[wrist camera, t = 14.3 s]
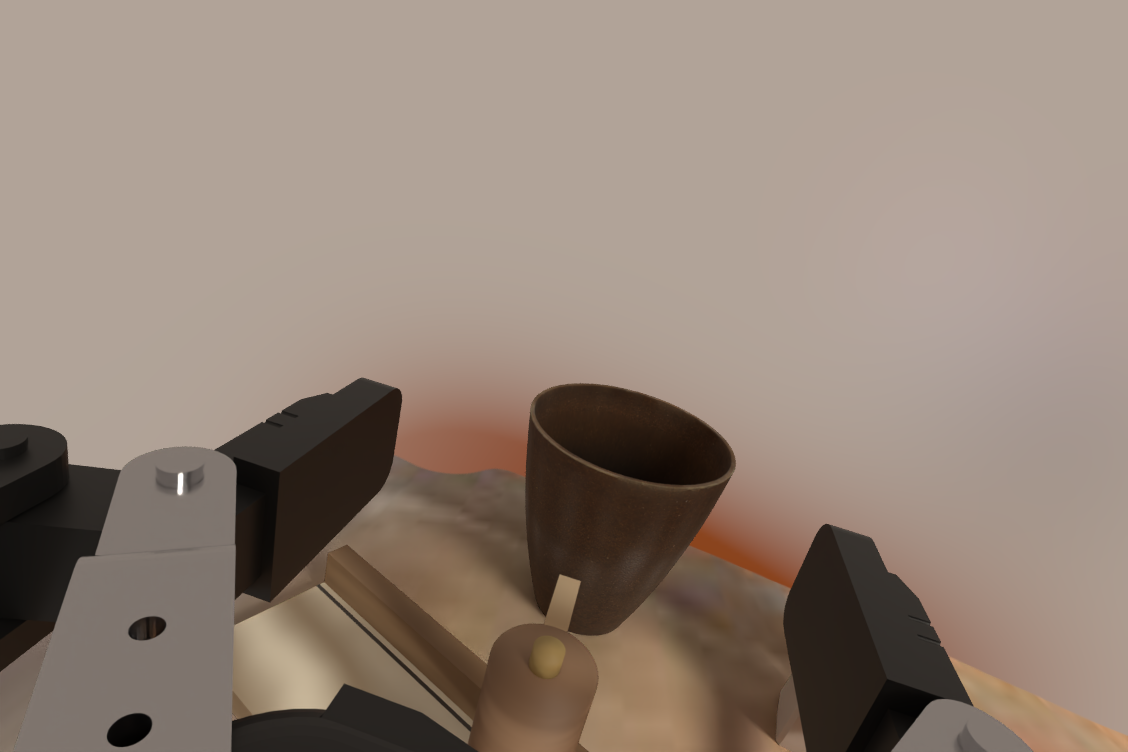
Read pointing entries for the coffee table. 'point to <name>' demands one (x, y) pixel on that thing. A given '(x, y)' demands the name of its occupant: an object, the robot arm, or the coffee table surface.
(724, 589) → the coffee table surface
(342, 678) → the board
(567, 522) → the plant pot
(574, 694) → the cylinder
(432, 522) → the coffee table surface
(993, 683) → the coffee table surface
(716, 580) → the coffee table surface
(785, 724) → the mallet
